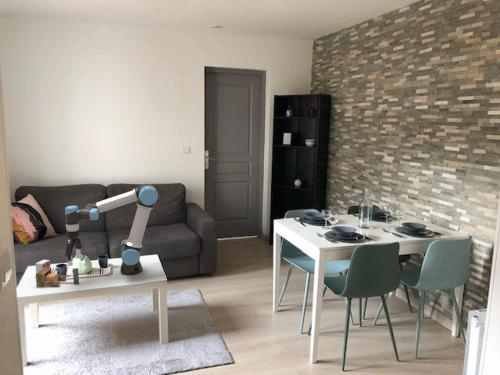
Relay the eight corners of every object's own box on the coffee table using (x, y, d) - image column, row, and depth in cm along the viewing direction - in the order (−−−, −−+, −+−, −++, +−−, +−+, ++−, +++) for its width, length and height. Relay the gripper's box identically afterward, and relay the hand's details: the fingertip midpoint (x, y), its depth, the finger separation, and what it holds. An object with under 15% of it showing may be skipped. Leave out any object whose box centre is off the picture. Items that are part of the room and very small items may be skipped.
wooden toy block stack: (66, 280, 275) (65, 267, 274) (58, 287, 265) (57, 274, 263) (44, 280, 275) (43, 267, 274) (36, 287, 264) (35, 274, 263)
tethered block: (80, 281, 273) (79, 267, 272) (77, 285, 267) (76, 270, 266) (49, 282, 273) (47, 267, 271) (44, 285, 267) (43, 270, 265)
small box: (43, 278, 278) (42, 263, 276) (36, 278, 279) (34, 263, 277) (51, 274, 286) (50, 260, 284) (44, 273, 287) (43, 259, 285)
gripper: (74, 225, 277) (76, 255, 280) (58, 235, 252) (60, 268, 255) (85, 225, 277) (87, 255, 280) (70, 235, 252) (72, 268, 256)
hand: (74, 262), depth 268 cm, fingers open, 13 cm apart
